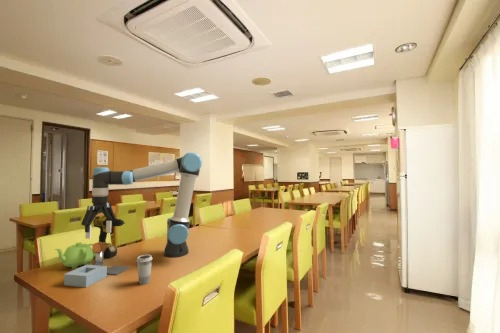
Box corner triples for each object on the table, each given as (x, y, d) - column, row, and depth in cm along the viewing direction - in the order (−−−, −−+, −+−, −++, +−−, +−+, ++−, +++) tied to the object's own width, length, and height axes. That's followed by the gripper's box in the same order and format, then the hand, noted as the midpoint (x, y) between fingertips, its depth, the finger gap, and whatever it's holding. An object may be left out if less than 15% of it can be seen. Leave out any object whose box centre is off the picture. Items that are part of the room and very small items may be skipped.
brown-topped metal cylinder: (105, 268, 131) (106, 242, 132) (99, 271, 127) (99, 244, 127) (98, 267, 132) (99, 241, 133) (92, 270, 128) (92, 244, 128)
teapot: (82, 271, 128) (83, 247, 128) (53, 272, 126) (54, 248, 127) (98, 260, 144) (98, 239, 144) (72, 261, 142) (72, 239, 143)
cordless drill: (120, 260, 144) (120, 217, 145) (89, 257, 148) (90, 216, 149) (129, 255, 152) (129, 215, 153) (100, 253, 156) (101, 214, 157)
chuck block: (106, 276, 121) (106, 266, 121) (86, 287, 109) (86, 276, 109) (86, 274, 123) (86, 264, 123) (63, 285, 111) (64, 274, 111)
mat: (130, 267, 132) (130, 266, 132) (116, 275, 122) (116, 274, 122) (114, 266, 133) (114, 265, 134) (99, 273, 124) (99, 272, 124)
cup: (135, 287, 109) (135, 260, 109) (136, 281, 115) (136, 255, 115) (152, 284, 112) (152, 257, 112) (152, 278, 118) (152, 253, 118)
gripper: (111, 194, 144) (110, 229, 143) (73, 197, 120) (71, 240, 119) (122, 194, 143) (121, 230, 142) (86, 197, 118) (84, 241, 117)
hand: (99, 235), depth 130 cm, fingers open, 13 cm apart
